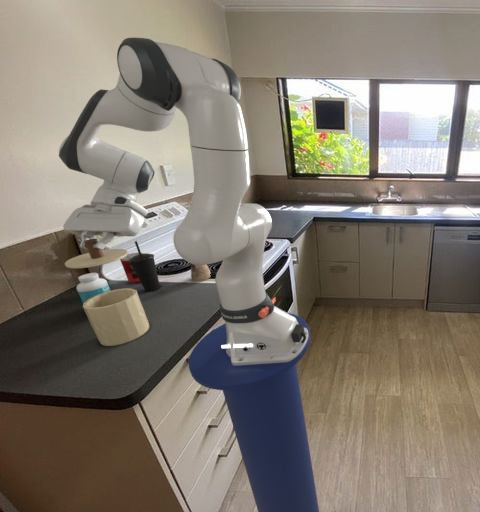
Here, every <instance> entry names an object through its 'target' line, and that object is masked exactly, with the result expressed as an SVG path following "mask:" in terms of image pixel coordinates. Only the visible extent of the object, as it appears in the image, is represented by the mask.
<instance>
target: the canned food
mask: <svg viewBox="0 0 480 512" xmlns="http://www.w3.org/2000/svg"><path fill="white" fill-rule="evenodd" d="M142 253H143V252H141V254H142ZM137 254H139V253H138V252H132V253H128V255H127V256H125V257H124V258H122V259H119V260H120V263H121V265H122V268H123V272H124V273H125V276H126V278H127V281H128V283H130V284H141V282H140V280H139V278H138V276H137V274H136V272H135V270H134V268H133V266H132V264H131V262H129V259H130V258H131V257H133V256H135V255H137Z"/></svg>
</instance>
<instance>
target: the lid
mask: <svg viewBox="0 0 480 512" xmlns="http://www.w3.org/2000/svg"><path fill="white" fill-rule="evenodd" d="M95 241H99V239H98V238H91V239H88V240H85V241H84V243H85V245H86V247H87V249H86V250H87V253H83V254H79V255H77V256H74V257H72V258H69V259H68V260H66V261H65V262H64V266H65V267H66V268H68V269H86V268H93V267H98V266H103V265H107V264H111V263H113V262H117V261H119V260H120V259H122V258H124V257H125V256H127V255H128V254H129V251H128V250H127V249H124V248H110V249H96V248H93V245H94V243H95Z"/></svg>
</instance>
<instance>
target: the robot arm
mask: <svg viewBox="0 0 480 512" xmlns="http://www.w3.org/2000/svg"><path fill="white" fill-rule="evenodd" d="M116 63H117V67H118V68H117V69H118V70H119V71H118V72H119V75H118V79H117V83H116V86H115V87H113V88H112V89H102V88H100V89H99V90H97V91H96V92H95V93H94V94H92V96H91V97H90V98H89V99H88V101H87V103H86V104H85V106H84V108H83V109H82V110H81V112H80V114H79V116H78V118H77V120H76V122H75V124H74V126H73V128H72V129H71V131H70V133H69V134H68V135H67V136H66V137H65V139H64V140H63V141H62V142H61V143H60V146H59V149H58V157H59V159H60V160H61V161H62V163H63V164H64V166H65V167H67V169H69V170H71V171H75V172H79V173H82V174H84V175H85V174H86V175H89V176H92V177H95V178H98V179H101V180H103V183H102V184H101V185H100V186H99V187H98V188H97V190H96V192H95V193H94V196H92V199H91V201H90V204H84V205H82V206H80V207H78V208H75V209H74V210H73V211H72V213H70V215H69V216H68V218H67V219H66V221H65V222H64V223H63V225H62V228H63V230H64V231H66V232H68V233H70V234H72V235H75V236H80V238H81V243H80V244H79V247H80V249H84V250H87V247H86V245H85V243H84V241H85V240H88V239H95V236H101V237H100V238H99V239H98V241H95V243H94V245H93V248H96V249H101V250H105V248H106V246H107V245H108V244H109V243H110V242H112V240H114V238H115V237H135V236H137V235H138V234H139V233H140V232H141V230H142V227H143V226H144V223H145V217H147V215H148V213H149V210H148V209H146V208H145V207H144V206H143V205H141V204H139V203H138V196H139V195H140V194H142V193H144V192H146V191H148V189H149V186H150V184H151V182H152V180H153V178H154V177H155V169H154V168H153V166H152V164H151V162H149V160H147V159H145V158H143V157H142V156H139V155H137V154H134V153H132V152H130V151H126V150H124V149H122V148H119V147H117V146H115V145H113V144H111V143H108V142H105V141H104V140H102V139H100V138H99V137H98V134H99V132H100V130H101V129H102V127H103V126H105V125H109V126H117V127H122V128H127V129H131V130H134V131H139V132H145V133H147V132H148V133H152V132H158V131H159V132H160V131H162V130H165V129H167V128H168V127H169V126H170V125H171V124H172V122H173V120H174V118H175V117H176V114H177V112H178V110H179V111H180V112H181V113H182V114H183V115H184V117H185V119H186V123H187V128H188V138H189V146H190V152H191V154H190V155H191V161H192V162H191V163H192V169H193V170H192V171H193V192H192V196H191V201H190V204H189V207H188V209H187V213H186V215H185V216H184V218H183V219H182V221H181V222H180V223H179V225H178V226H177V227H176V229H175V230H174V232H173V237H172V239H173V246H174V249H175V251H176V253H177V254H178V255H179V256H180V257H181V259H183V260H184V261H185V262H187V263H189V264H190V263H191V264H193V265H197V266H203V265H207V266H208V265H210V264H216V263H219V262H221V265H220V267H219V268H218V270H217V272H216V274H215V279H214V280H215V286H216V290H217V295H218V299H219V302H220V304H219V309H220V314H221V318H222V320H223V321H224V324H225V325H226V334H227V343H226V345H222V346H221V347H222V348H226V353H227V354H228V356H229V357H230V358H231V363H232V365H233V366H240V365H255V364H269V363H283V362H290V361H291V360H293V359H294V358H296V357H297V356H298V355H299V354H300V352H301V351H302V350H303V348H304V347H305V345H306V343H307V340H308V337H309V334H308V330H307V328H304V326H303V324H298V322H297V320H296V318H295V317H294V316H292V315H290V314H288V313H289V312H286V311H285V310H283V309H281V308H279V307H277V306H276V305H275V303H276V301H277V297H276V296H274V297H273V298H272V299H271V297H270V296H269V295H268V293H267V292H266V288H265V280H264V273H263V261H264V252H265V247H266V242H267V238H268V236H269V234H270V232H271V231H272V228H273V221H272V217H271V214H270V213H269V211H268V210H267V209H266V208H265V207H264V206H262V205H261V204H258V203H253V202H252V203H249V202H248V203H246V202H245V203H242V200H243V198H244V196H245V194H246V193H247V192H248V190H249V188H250V185H251V168H250V154H249V152H250V151H249V142H248V134H247V127H246V123H245V122H246V121H245V119H244V114H243V110H242V106H241V105H240V100H241V97H242V96H241V93H242V91H241V88H242V87H241V83H240V80H239V77H238V75H237V74H236V72H235V70H234V69H232V68H231V66H229V65H228V64H226V63H224V62H223V61H220V60H219V59H216V58H210V57H208V56H205V55H203V54H200V53H198V52H195V51H191V50H190V49H188V48H186V47H181V46H178V45H174V44H169V43H165V42H158V41H154V40H153V39H150V38H145V37H127V38H126V37H125V38H124V39H123V40H122V42H121V43H120V44H119V46H118V48H117V53H116Z"/></svg>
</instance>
